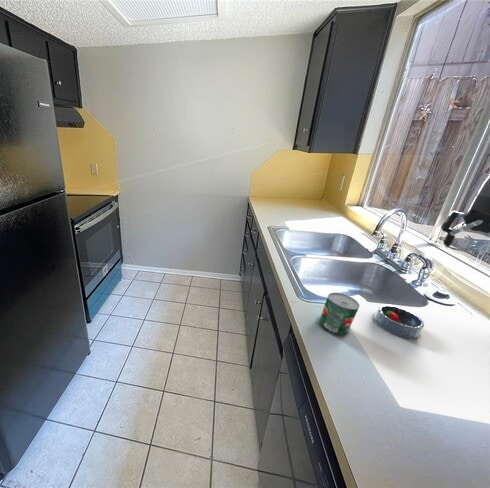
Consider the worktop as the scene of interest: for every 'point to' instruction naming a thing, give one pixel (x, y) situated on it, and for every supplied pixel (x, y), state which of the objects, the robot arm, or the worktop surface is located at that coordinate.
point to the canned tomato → (338, 313)
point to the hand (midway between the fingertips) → (466, 250)
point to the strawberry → (391, 316)
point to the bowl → (404, 316)
